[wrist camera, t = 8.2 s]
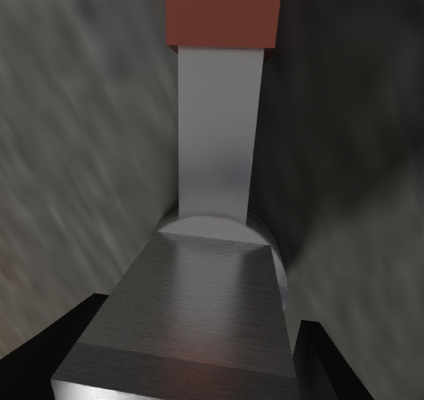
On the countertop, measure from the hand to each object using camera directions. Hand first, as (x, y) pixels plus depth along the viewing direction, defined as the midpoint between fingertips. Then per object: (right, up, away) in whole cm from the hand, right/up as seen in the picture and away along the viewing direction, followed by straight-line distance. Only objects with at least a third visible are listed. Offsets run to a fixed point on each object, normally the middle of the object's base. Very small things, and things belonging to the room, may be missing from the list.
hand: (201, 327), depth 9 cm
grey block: (0, +1, +2) cm, 2 cm away
